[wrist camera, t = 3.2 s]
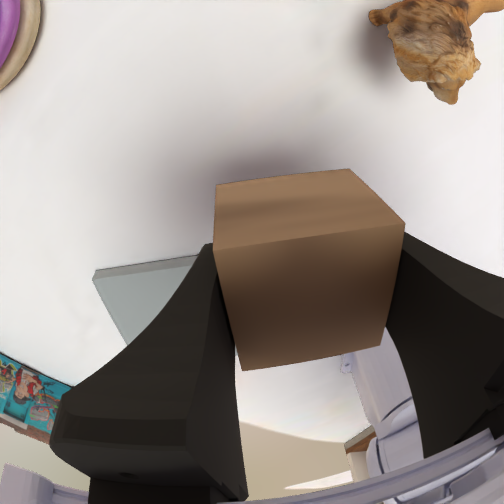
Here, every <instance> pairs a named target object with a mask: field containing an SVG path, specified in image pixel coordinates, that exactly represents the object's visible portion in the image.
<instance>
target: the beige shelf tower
mask: <svg viewBox="0 0 504 504" xmlns="http://www.w3.org/2000/svg"><path fill="white" fill-rule="evenodd" d="M375 437H377V435H376V432H375V429H374V427H373V426H372V425H371V426H370V427H368V428H367V429H366V430H364V431H363V432H361V433H360V434H358V435H357V436H355V437H354V438H352V439H351V440H349V441H348V442H346V443H345V444H344V446H345V450H346V454H347V458H348V462H349V466H350V470H351V474H352V478H353V482H354V483H355V482H359V481H362V480H366V479H369V478H370V477H369V473H368V469H367V463H366V453H367V449H368V447H369V443H370V441H371V439H373V438H375ZM376 504H385V503H384V502H383V501H382V502H379V503H376Z"/></svg>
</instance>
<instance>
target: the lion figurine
mask: <svg viewBox="0 0 504 504" xmlns="http://www.w3.org/2000/svg"><path fill="white" fill-rule="evenodd" d="M503 9H504V0H404V1H402V2H397V3H394V4H392V5H391V6H388V7H387V8H385V9H381V10H372V11H370V12H369V19H370V21H371V22H372V23H373V24H374V25H376V26H379V25H382V24H388V25H387V28H388V30H389V34H388V38H390V39H391V40H392V42H393V48H394V53H395V58H396V59H397V65H398V66H399V67H400V70H401V72H402V73H403V74H404V76H405V77H406V78H407V79H408V80H409V81H411V82H413V81H423V82H426V83H427V86H428V88H429V89H430V90H431V91H433V93H434V95H435V97H436V98H437V99H439V100H441V101H444V102H447V103H448V104H450V105H452V104H455V103H456V102H457V100H458V91H459V88H460V87H461V86H463V85H464V83H465V81H466V80H470V79H471V78H472V77H473V73H475V72H476V71H477V70H479V68H480V65H481V63H480V61H479V60H478V59H477V58H476V57H475V54H474V47H473V46H474V44H473V42H472V41H471V40H470V39H471V37H472V34H471V31H470V28H469V26H471V25H472V24H473V23H474V22H475V21H476V20H477V19H478V18H479V17H480V16H481V15H482V14H483V13H489V12H498V11H501V10H503ZM390 21H391V22H390Z"/></svg>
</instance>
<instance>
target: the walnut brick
mask: <svg viewBox="0 0 504 504" xmlns="http://www.w3.org/2000/svg"><path fill="white" fill-rule="evenodd" d="M404 230H405V222H404V221H403V220H402V219H401V218H400V217H399V216H398V215H397V214H396V213H395V212H394V211H393V210H392V209H391V208H390V207H389V206H388V205H387V204H386V203H385V202H384V201H383V200H382V199H381V198H380V197H379V196H378V195H377V194H376V193H375V192H374V191H373V190H372V189H371V188H370V187H369V186H368V185H366V184H365V183H364V182H363V181H362V180H361V179H360V178H359V177H358V176H357V175H356V174H355V173H354V172H352V171H351V170H350V169H340V170H329V171H319V172H309V173H300V174H292V175H283V176H275V177H268V178H260V179H253V180H246V181H239V182H232V183H226V184H219V185H216V195H215V214H214V234H213V254H214V258H215V263H216V267H217V271H218V276H219V280H220V284H221V288H222V293H223V297H224V301H225V305H226V309H227V313H228V317H229V322H230V326H231V330H232V334H233V338H234V341H235V345H236V349H237V353H238V357H239V361H240V365H241V369H242V371H248V370H255V369H263V368H269V367H276V366H283V365H289V364H295V363H300V362H306V361H311V360H317V359H322V358H327V357H332V356H337V355H341V354H346V353H351V352H355V351H359V350H364V349H368V348H372V347H376V346H380V344H381V340H382V337H383V333H384V329H385V325H386V321H387V317H388V313H389V309H390V304H391V300H392V295H393V291H394V286H395V281H396V276H397V271H398V266H399V260H400V255H401V249H402V243H403V236H404Z"/></svg>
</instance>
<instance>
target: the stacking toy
mask: <svg viewBox="0 0 504 504" xmlns="http://www.w3.org/2000/svg"><path fill="white" fill-rule="evenodd" d="M40 12H41V9H40V0H0V90H1V89H3V88H4V87H5V86H6V85H7V84H8V83H10V82H11V80H12V79H13V78H14V77H15V76H16V75H17V73H18V72H19V71H20V69H21V68H22V67H23V65H24V63H25V61H26V60H27V58H28V56H29V54H30V52H31V50H32V47H33V45H34V42H35V39H36V36H37V33H38V29H39V23H40Z"/></svg>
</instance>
